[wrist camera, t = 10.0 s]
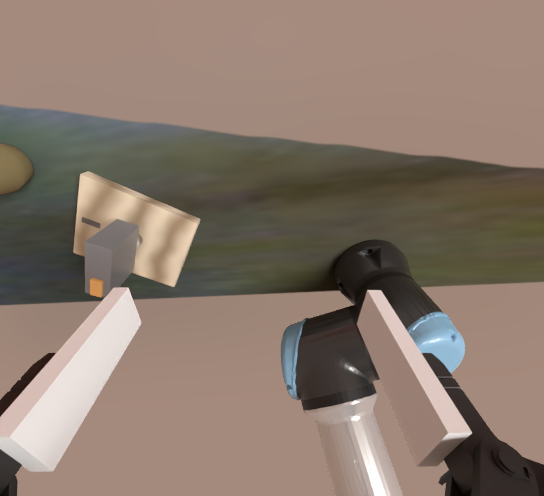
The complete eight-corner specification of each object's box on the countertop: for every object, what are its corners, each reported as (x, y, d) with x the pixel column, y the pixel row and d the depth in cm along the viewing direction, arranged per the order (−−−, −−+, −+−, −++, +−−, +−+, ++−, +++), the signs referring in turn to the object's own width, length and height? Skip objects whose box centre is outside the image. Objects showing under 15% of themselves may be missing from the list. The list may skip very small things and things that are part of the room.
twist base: (200, 219, 44) (194, 229, 40) (177, 281, 52) (169, 294, 48) (88, 171, 39) (68, 177, 36) (80, 247, 47) (63, 259, 43)
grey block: (117, 218, 39) (82, 243, 32) (139, 225, 40) (110, 251, 32) (113, 264, 43) (82, 294, 36) (133, 269, 44) (107, 300, 37)
